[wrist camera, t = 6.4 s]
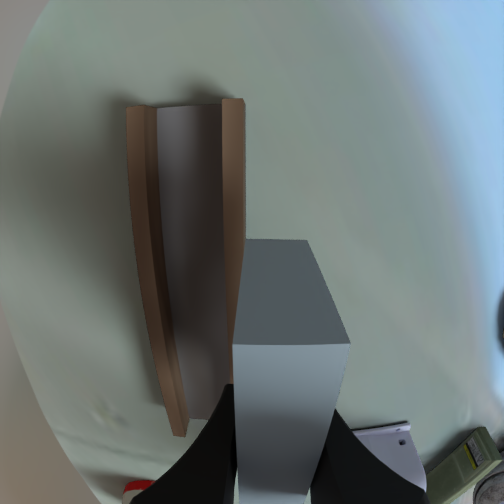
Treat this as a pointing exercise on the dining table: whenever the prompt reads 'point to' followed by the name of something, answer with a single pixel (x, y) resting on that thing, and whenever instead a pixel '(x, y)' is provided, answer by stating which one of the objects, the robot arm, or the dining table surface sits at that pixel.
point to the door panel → (283, 370)
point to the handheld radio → (462, 468)
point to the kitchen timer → (134, 489)
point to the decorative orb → (491, 486)
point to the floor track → (189, 245)
